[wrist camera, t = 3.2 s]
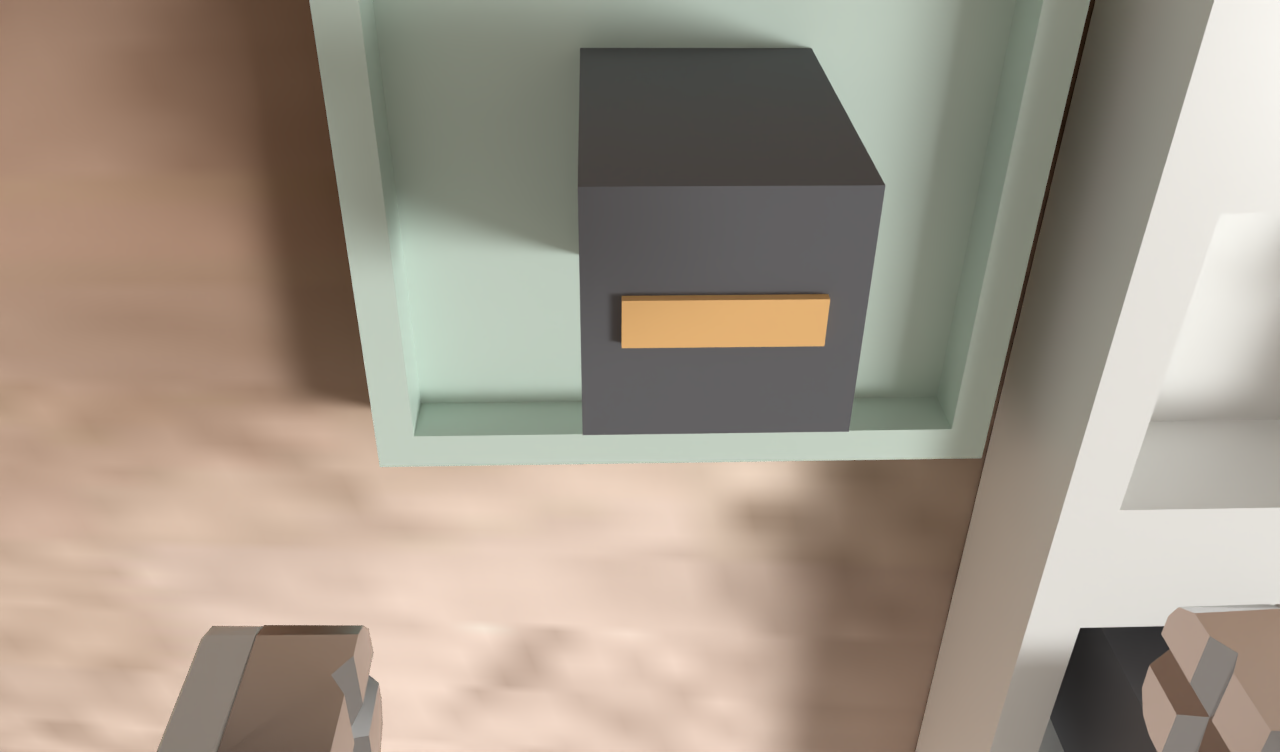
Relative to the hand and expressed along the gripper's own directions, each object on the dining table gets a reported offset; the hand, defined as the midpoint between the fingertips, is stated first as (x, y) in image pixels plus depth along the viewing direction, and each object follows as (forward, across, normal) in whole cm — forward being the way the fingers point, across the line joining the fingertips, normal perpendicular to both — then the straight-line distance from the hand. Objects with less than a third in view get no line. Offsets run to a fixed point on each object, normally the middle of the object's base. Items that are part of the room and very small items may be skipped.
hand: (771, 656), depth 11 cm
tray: (+13, 0, -1) cm, 13 cm away
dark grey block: (+12, 0, -1) cm, 12 cm away
